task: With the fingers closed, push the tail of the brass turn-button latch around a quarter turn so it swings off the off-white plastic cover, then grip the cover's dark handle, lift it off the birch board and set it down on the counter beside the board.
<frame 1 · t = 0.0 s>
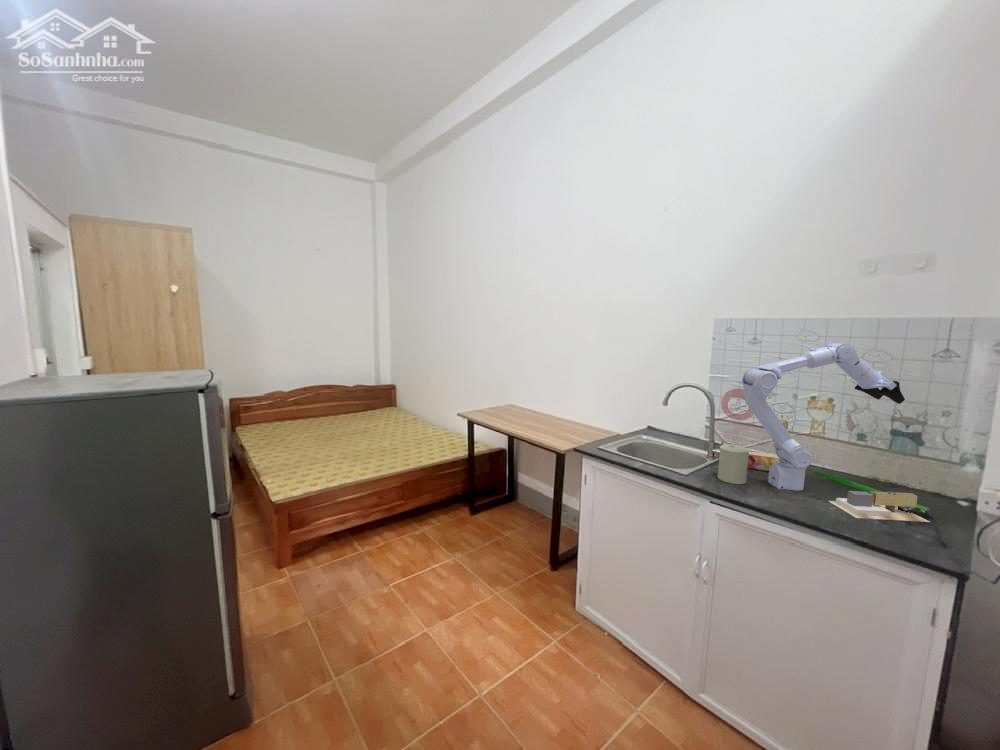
hand: (890, 399, 126), 32 cm above the worktop, tool tilted 50°, fingers open, 7 cm apart
can: (731, 479, 142), on the worktop
board: (875, 515, 115), on the worktop
cover: (862, 509, 116), point 1 cm above the worktop, touching board
green onion: (864, 496, 129), on the worktop
snack package: (755, 469, 154), on the worktop
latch: (893, 498, 114), point 5 cm above the worktop, hinge at 0.0°
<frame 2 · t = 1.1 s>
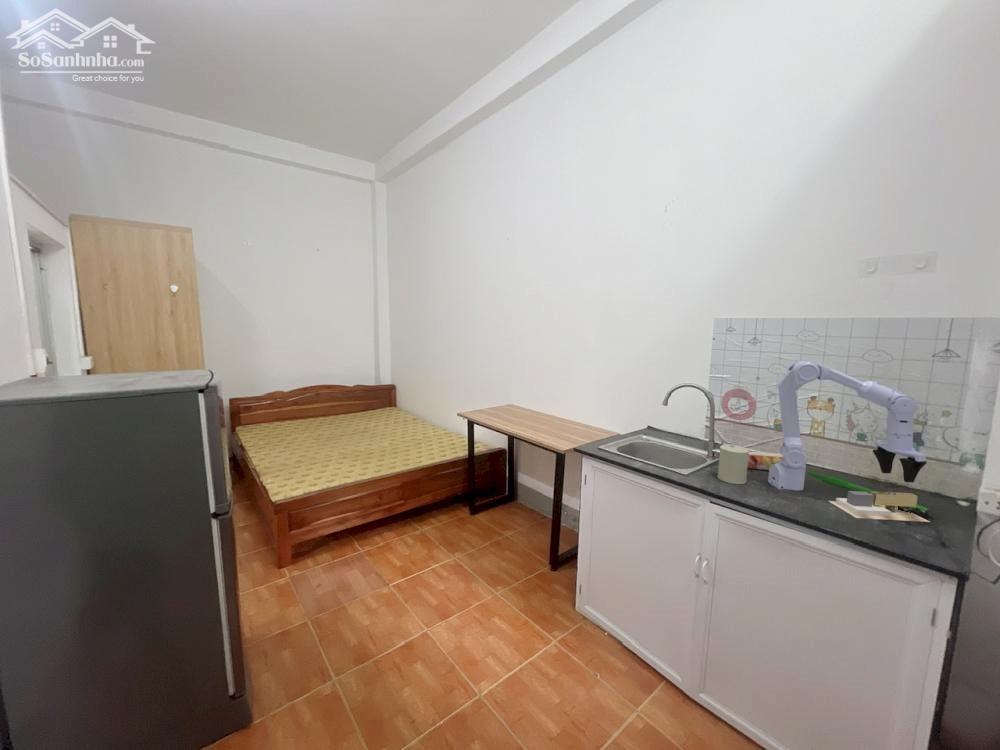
hand: (897, 477, 119), 10 cm above the worktop, tool pointing down, fingers open, 7 cm apart
green onion: (860, 497, 129), on the worktop
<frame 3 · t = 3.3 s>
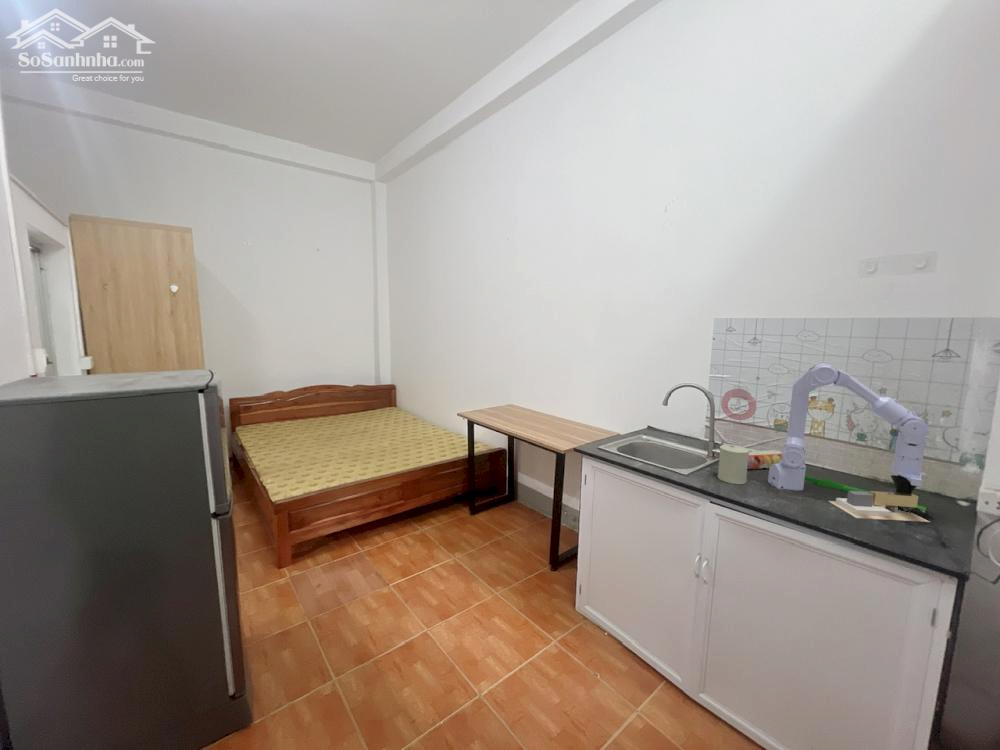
hand: (902, 500, 116), 4 cm above the worktop, tool pointing down, fingers closed, pressing on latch
green onion: (857, 499, 127), on the worktop
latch: (893, 498, 114), point 5 cm above the worktop, hinge at -2.7°, touching gripper
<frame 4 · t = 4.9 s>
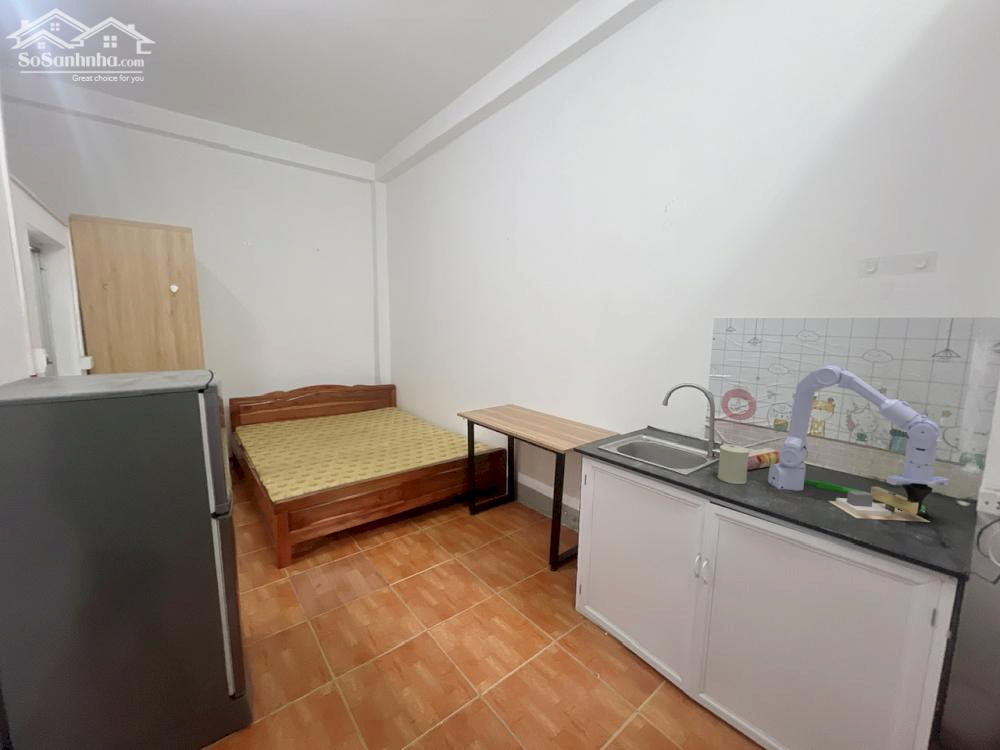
hand: (913, 508, 110), 4 cm above the worktop, tool pointing down, fingers closed, pressing on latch
green onion: (856, 500, 126), on the worktop
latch: (893, 499, 114), point 5 cm above the worktop, hinge at -79.1°, touching gripper
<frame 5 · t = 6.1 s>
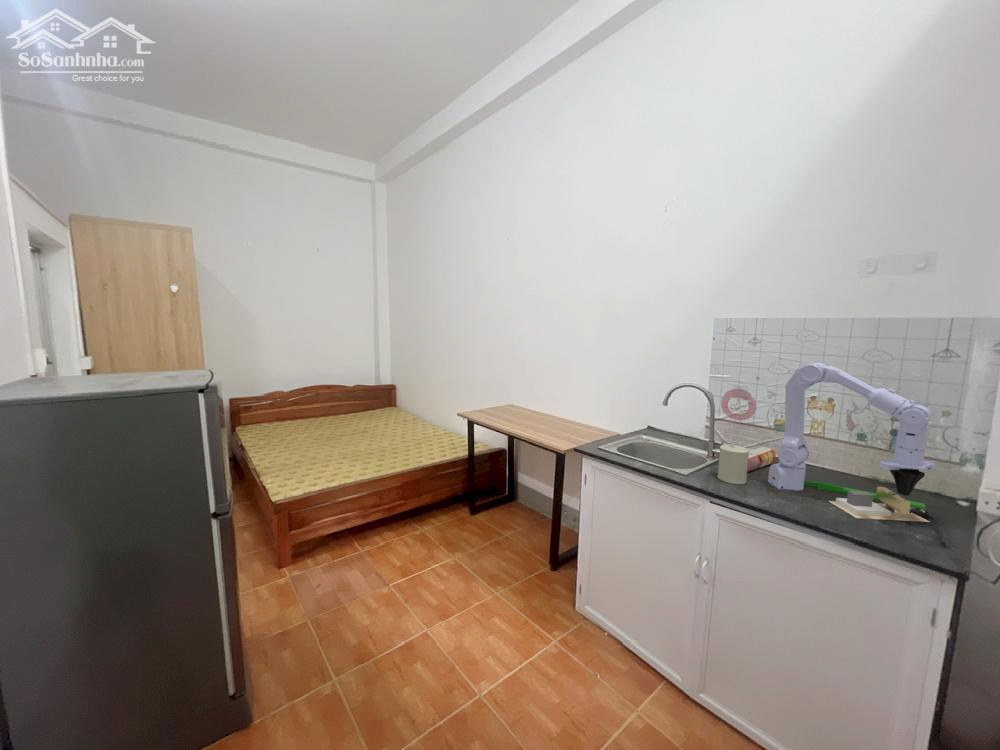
hand: (903, 494, 110), 8 cm above the worktop, tool pointing down, fingers closed
green onion: (856, 500, 126), on the worktop, touching arm
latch: (892, 499, 114), point 5 cm above the worktop, hinge at -102.0°
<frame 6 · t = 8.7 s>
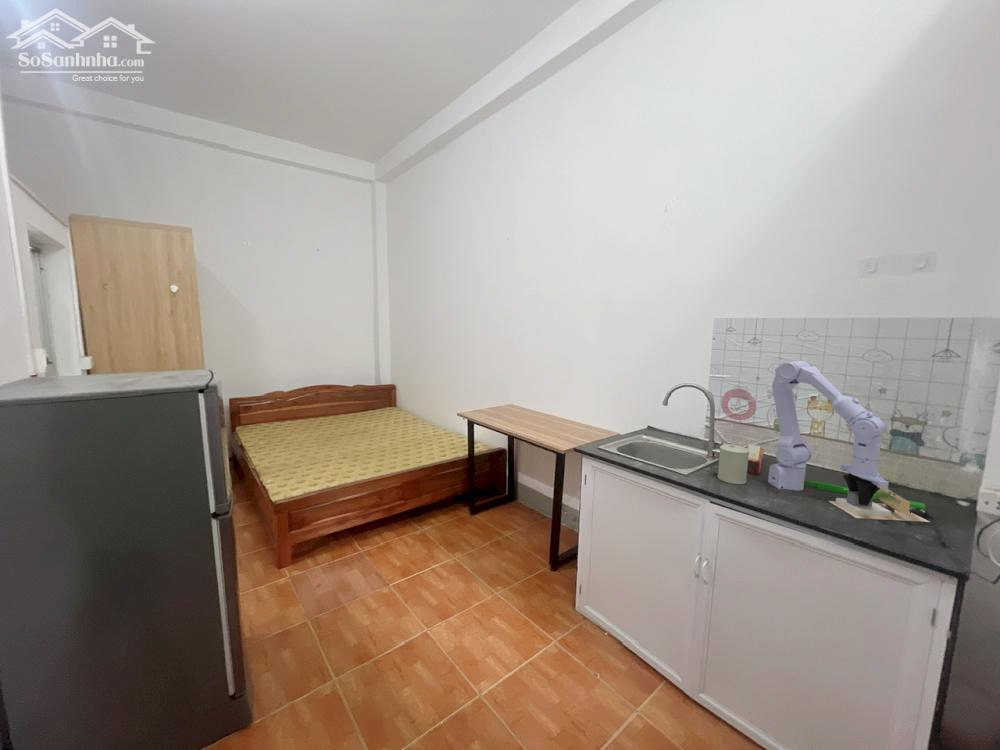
hand: (859, 502, 116), 4 cm above the worktop, tool pointing down, fingers closed on cover, 2 cm apart
cover: (862, 509, 116), point 1 cm above the worktop, touching board, gripper
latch: (892, 499, 114), point 5 cm above the worktop, hinge at -102.7°
when the fingers open (4 cm above the worktop, at t = 12.6 s): cover drops 1 cm, on the worktop.
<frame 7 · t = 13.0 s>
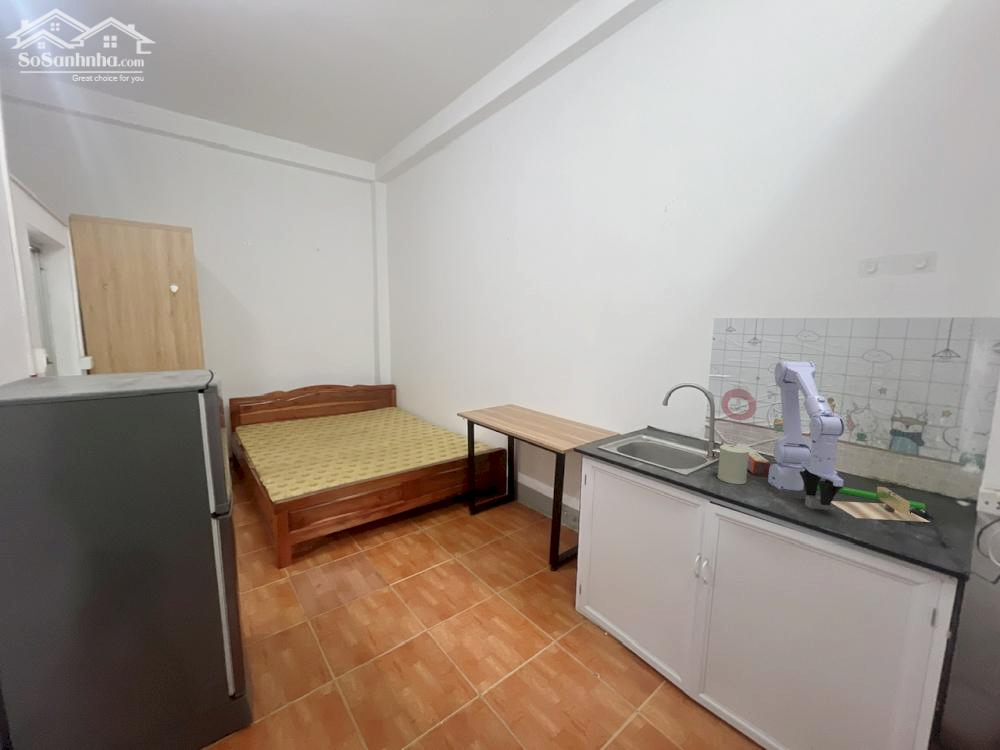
hand: (817, 500, 117), 4 cm above the worktop, tool pointing down, fingers open, 6 cm apart
cover: (819, 513, 117), on the worktop
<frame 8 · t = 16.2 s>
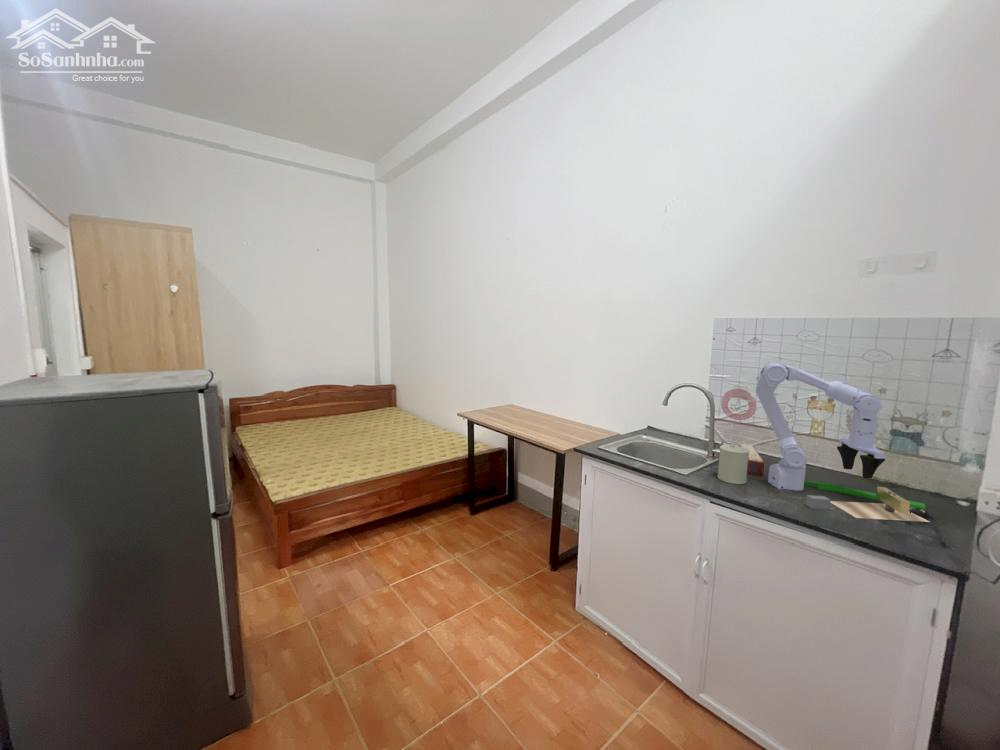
hand: (857, 473, 123), 9 cm above the worktop, tool pointing down, fingers open, 7 cm apart
green onion: (856, 500, 126), on the worktop, touching arm, board
at the end: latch at -103° (first picture: +0°); cover inside the target area (0.1 cm from its centre), on the worktop; cover tilted 0° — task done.
